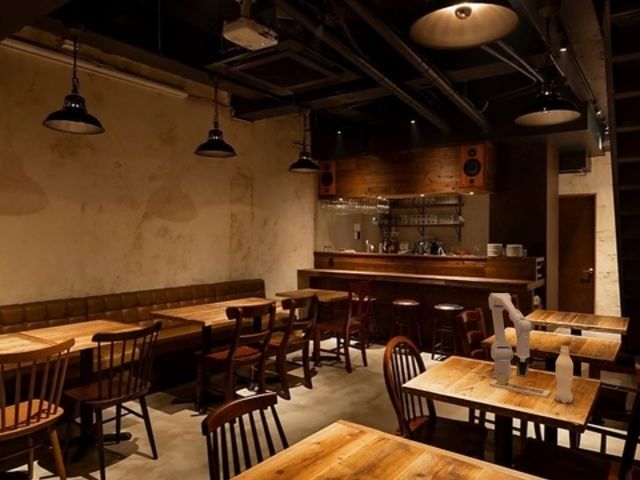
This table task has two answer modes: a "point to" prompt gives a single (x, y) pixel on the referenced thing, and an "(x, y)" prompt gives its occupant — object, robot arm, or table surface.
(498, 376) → the brass block
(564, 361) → the water bottle
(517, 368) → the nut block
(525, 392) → the beige rectangular frame
